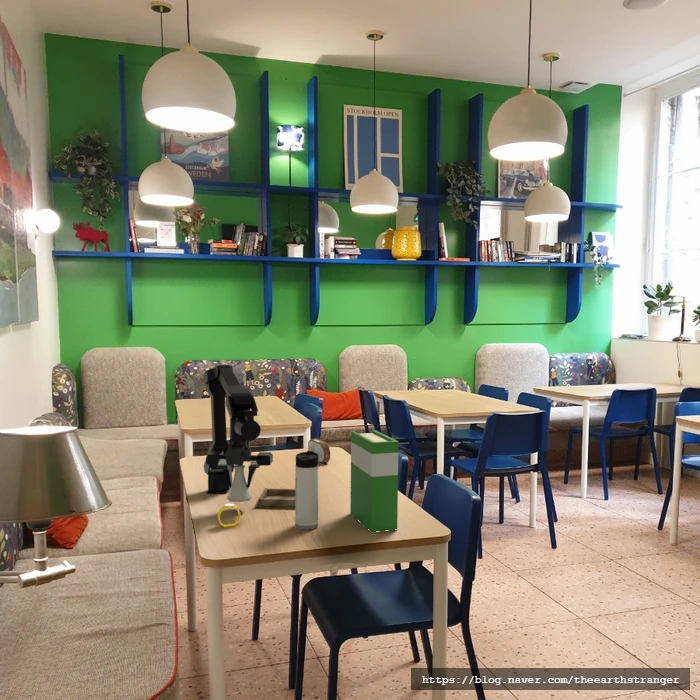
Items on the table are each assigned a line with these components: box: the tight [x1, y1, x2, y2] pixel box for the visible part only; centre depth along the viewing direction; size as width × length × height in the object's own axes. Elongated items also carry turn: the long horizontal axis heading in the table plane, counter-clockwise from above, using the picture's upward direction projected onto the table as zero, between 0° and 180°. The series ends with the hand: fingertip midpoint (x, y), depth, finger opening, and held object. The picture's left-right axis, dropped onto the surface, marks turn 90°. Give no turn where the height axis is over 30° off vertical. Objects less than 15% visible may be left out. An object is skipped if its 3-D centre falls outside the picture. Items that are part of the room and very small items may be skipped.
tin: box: [307, 437, 331, 464], centre depth 248 cm, size 15×3×8 cm, turn 30°
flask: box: [226, 464, 253, 503], centre depth 182 cm, size 7×7×10 cm
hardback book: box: [349, 429, 399, 533], centre depth 173 cm, size 18×7×24 cm, turn 18°
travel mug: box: [294, 450, 320, 531], centre depth 169 cm, size 6×7×20 cm
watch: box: [217, 502, 242, 528], centre depth 169 cm, size 6×3×6 cm, turn 111°
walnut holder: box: [257, 487, 295, 509], centre depth 192 cm, size 12×12×2 cm
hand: (239, 487), depth 183 cm, fingers closed on flask, 5 cm apart
